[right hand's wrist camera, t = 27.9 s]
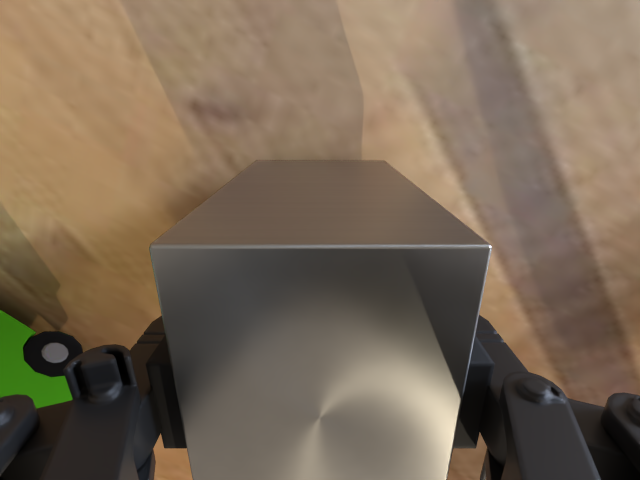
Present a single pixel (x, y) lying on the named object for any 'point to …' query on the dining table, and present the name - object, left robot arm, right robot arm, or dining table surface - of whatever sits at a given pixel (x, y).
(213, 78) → the dining table surface
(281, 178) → the grey metal block
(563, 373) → the dining table surface
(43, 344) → the toy car
